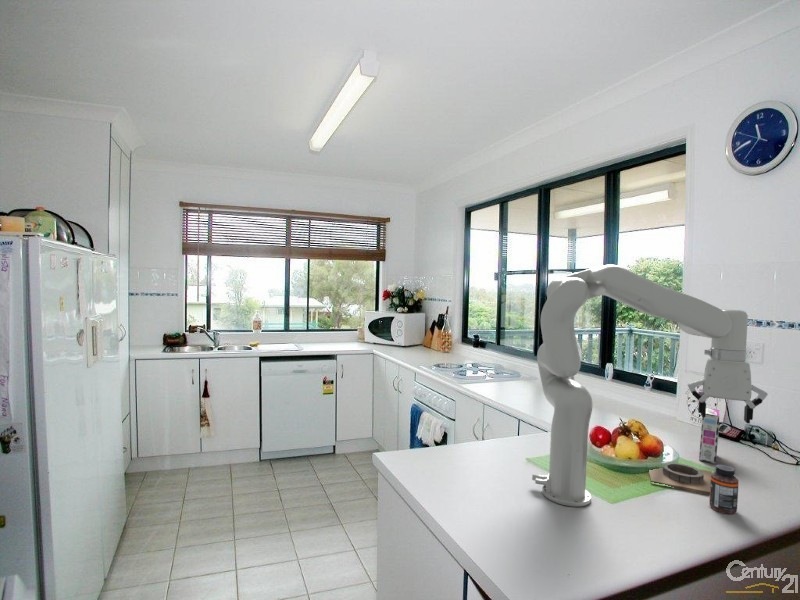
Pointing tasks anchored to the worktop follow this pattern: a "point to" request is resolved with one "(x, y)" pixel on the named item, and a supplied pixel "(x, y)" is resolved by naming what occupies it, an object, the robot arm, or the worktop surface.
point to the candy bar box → (709, 436)
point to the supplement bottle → (724, 490)
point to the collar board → (683, 478)
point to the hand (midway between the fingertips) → (724, 419)
